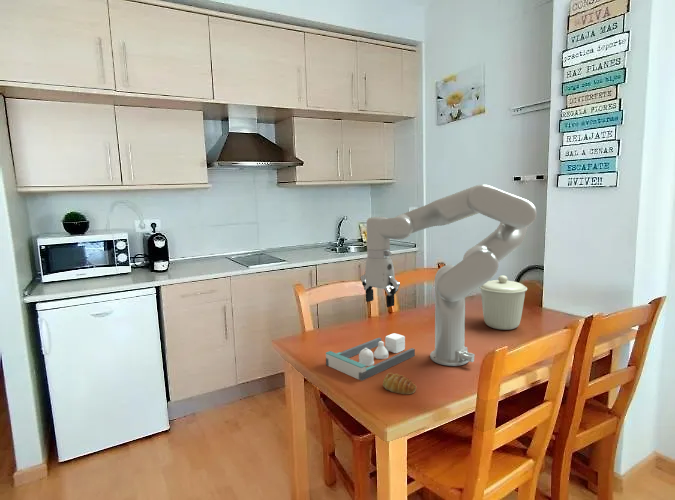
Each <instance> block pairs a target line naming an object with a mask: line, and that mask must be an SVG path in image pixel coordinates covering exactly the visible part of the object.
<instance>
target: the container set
mask: <svg viewBox="0 0 675 500" xmlns="http://www.w3.org/2000/svg"><path fill="white" fill-rule="evenodd" d="M378 343H379V344H378V346H377V347H375V348H376V349H375V350H374V351H372V349H368V348H364V349H363V350H361V351H360V353H359V354H358V362H359V363H361V364H364V365H366V367H369V366H372V365H375V361H374V359H378V360H386V359H389V352H391V353H393V354H399V353H402V352H404V350H405V349H406V336H405V335H402V334H399V333H395V332H394V333H391V334H388V335H386V336H385V338H384V341H382V340H381V341H379V342H378Z"/></svg>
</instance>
